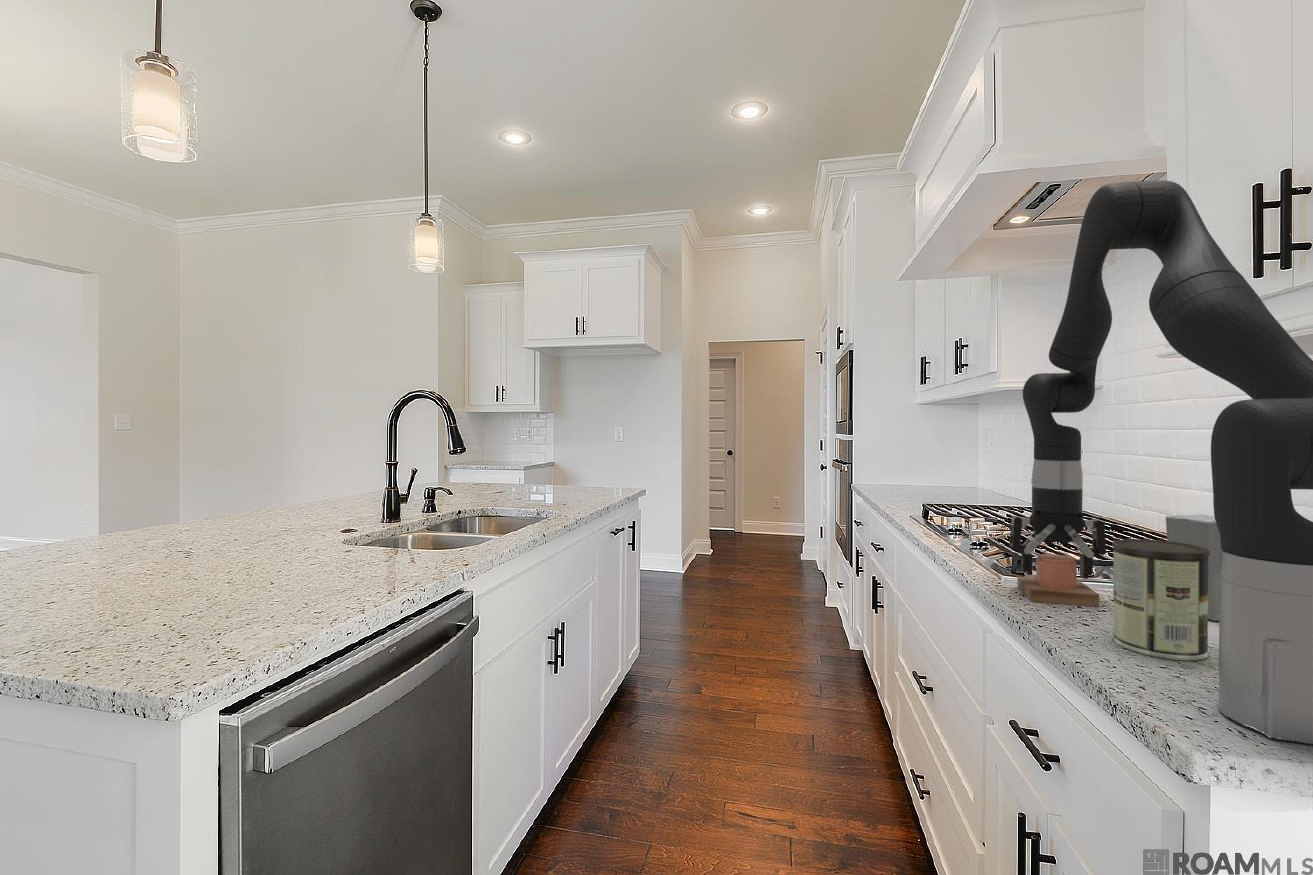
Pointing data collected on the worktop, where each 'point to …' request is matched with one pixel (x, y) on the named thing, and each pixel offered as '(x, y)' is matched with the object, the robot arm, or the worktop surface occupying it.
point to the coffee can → (1161, 598)
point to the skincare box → (1204, 535)
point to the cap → (1056, 571)
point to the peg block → (1058, 593)
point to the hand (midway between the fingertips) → (1056, 575)
